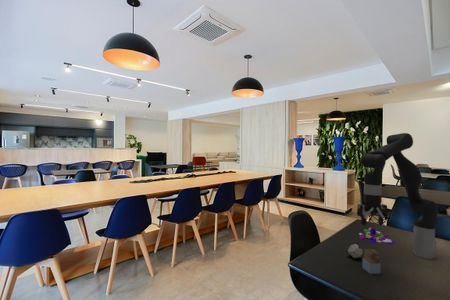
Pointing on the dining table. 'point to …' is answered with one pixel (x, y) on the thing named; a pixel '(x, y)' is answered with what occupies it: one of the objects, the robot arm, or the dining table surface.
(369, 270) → the blue block
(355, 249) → the game die
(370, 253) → the walnut block
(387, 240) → the building block set
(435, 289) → the dining table surface
